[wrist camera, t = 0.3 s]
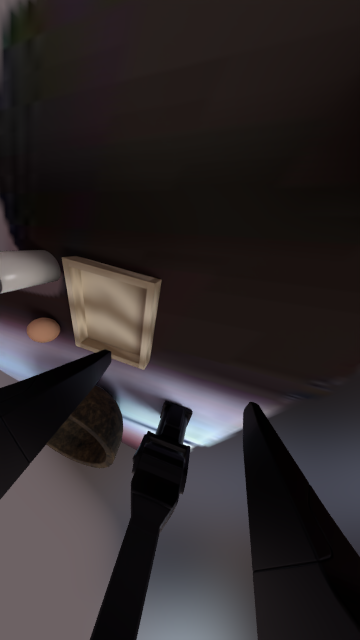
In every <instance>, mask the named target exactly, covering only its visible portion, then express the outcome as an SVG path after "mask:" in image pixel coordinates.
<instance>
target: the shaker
mask: <svg viewBox="0 0 360 640" xmlns="http://www.w3.org/2000/svg"><path fill="white" fill-rule="evenodd" d="M60 276H61V270H60V266H59V264H58V262H57V260H56V259H55V257H54V256H53V255H52V254H50V253H49V252H47V251H45V250H24V251H0V293H5V292H9V291H14V290H18V289H22V288H27V287H31V286H35V285H40V284H45V283H49V282H53V281H57V280H58V279H59V278H60Z"/></svg>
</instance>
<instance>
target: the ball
mask: <svg viewBox="0 0 360 640" xmlns="http://www.w3.org/2000/svg"><path fill="white" fill-rule="evenodd" d="M59 333H60V326H59V324H58V323H57V322H56V321H55V320H53V319H50V318H38V319H35V320H33V321H32V322H31V323H30V324H29V325H28V327H27V334H28V336H29V337H30V338H31V339H32V340H34V341H36V342H41V343H45V342H50V341H52V340H54V339H55V338H56V337H57V336H58V335H59Z"/></svg>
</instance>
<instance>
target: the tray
mask: <svg viewBox="0 0 360 640" xmlns="http://www.w3.org/2000/svg"><path fill="white" fill-rule="evenodd" d="M62 262H63V268H64V274H65V281H66V287H67V293H68V299H69V305H70V311H71V317H72V324H73V330H74V336H75V342H76V346H78V347H81V348H84V349H87V350H90V351H92V352H95V353H96V352H99V351H101V350H104V349H107V350H109V351H111V358H112V359H115V360H118V361H120V362H123V363H126V364H129V365H132V366H134V367H137V368H140V369H143V370H144V369H145V367H146V366H147V364H148V363H149V361H150V355H151V348H152V342H153V335H154V328H155V321H156V314H157V308H158V301H159V294H160V287H161V279H157V278H154V277H150V276H146V275H143V274H139V273H136V272H132V271H128V270H125V269H121V268H118V267H114V266H110V265H107V264H103V263H100V262H96V261H92V260H89V259H85V258H82V257H78V256H71V257H62Z"/></svg>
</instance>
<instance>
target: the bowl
mask: <svg viewBox="0 0 360 640" xmlns="http://www.w3.org/2000/svg"><path fill="white" fill-rule="evenodd" d="M122 434H123V418H122V414H121V411H120V409H119V406H118V404H117V403H116V401H115V400H114V399H113V398H112V396H111V395H110V394H109V393H108V392H106V391H105V390H104V389H102V388H100V387H98V386H96V385H95V386H94V387H93V389H92V390H91V391H90V392H89V393H88V395H87V396H86V397H85V398H84V399H83V401H82V402H81V403H80V404H79V405H78V407H77V408H76V409H75V410H74V411H73V413H72V414H71V415H70V416H69V417H68V419H67V420H66V421H65V422H64V423H63V425H62V426H61V427H60V428H59V429H58V431H57V432H56V433H55V434H54V435H53V437H52V438H51V439H50V440H49V441H48V443H47V444H46V445H48V446H49V447H51V448H52V449H54V450H55V451H57V452H59V453H60V454H62V455H64V456H65V457H67V458H69V459H71V460H74V461H76V462H78V463H81V464H84V465H87V466H91V467H96V468H105V467H109V466H110V465H111V464H112V463H113V461H114V459H115V456H116V453H117V451H118V448H119V446H120V443H121V440H122Z"/></svg>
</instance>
